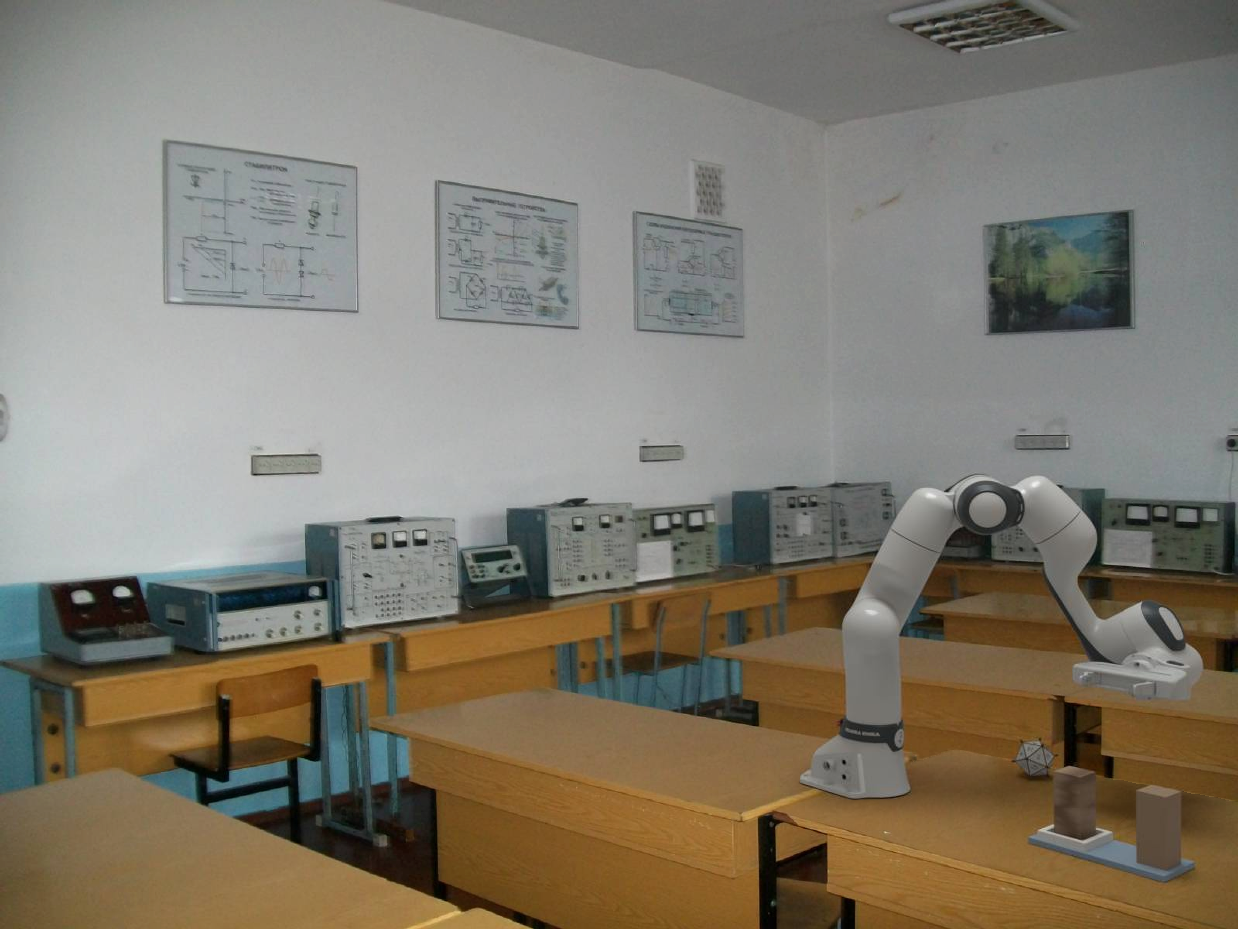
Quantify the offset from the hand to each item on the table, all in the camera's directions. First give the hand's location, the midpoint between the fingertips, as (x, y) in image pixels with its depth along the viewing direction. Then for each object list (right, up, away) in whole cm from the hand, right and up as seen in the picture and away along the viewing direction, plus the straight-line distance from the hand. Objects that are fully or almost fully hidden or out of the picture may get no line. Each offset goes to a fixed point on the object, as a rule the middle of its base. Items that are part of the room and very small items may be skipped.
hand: (1106, 685), depth 216 cm
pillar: (-9, -25, -8) cm, 28 cm away
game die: (-1, -26, +34) cm, 43 cm away
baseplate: (-5, -27, -12) cm, 30 cm away
